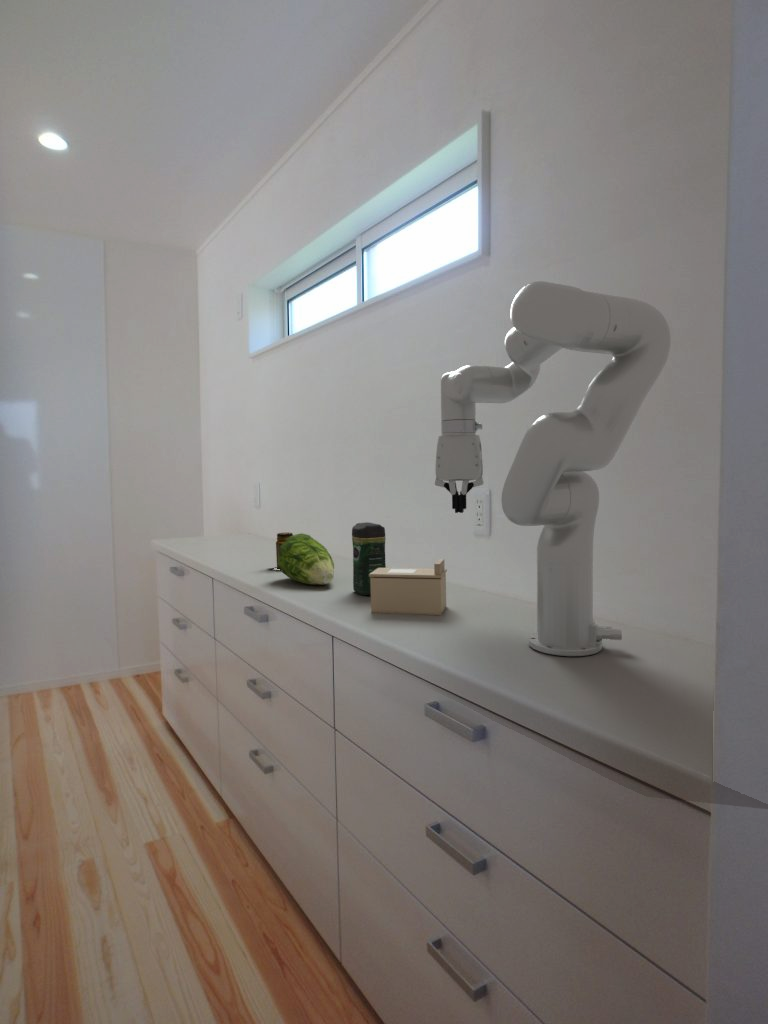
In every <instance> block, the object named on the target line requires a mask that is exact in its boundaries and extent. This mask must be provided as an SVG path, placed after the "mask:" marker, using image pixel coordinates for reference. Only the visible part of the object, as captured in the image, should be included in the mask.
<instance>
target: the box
mask: <svg viewBox="0 0 768 1024" xmlns="http://www.w3.org/2000/svg"><path fill="white" fill-rule="evenodd" d="M446 573H447V572H446ZM446 573H445V574H444V575H443V577H442V578H407V577H371V578H370V585H371V595H370V613H371V614H374V613H375V614H398V615H399V614H400V615H404V614H405V615H424V616H425V615H426V616H442V615H443V613H444V611H445V610H446V608H447V574H446Z"/></svg>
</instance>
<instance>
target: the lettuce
mask: <svg viewBox="0 0 768 1024" xmlns="http://www.w3.org/2000/svg"><path fill="white" fill-rule="evenodd" d="M278 564H279V566H280V568H281V571H280V572H282V574H284V575H285V576H286V577H287V578H289V579H290V580H293V581H295V582H298V583H302V584H305V585H309V586H316V585H328V584H330V583H331V582H332V581H333V580H334V575H335V563H334V560H333V558H332V556H331V554H330V553H329V551H328V549H327V548H326V547H325V546H324V545H323V544H322V543H320V542H319V541H318V540H316V539H314V538H313V537H312V536H310V534H306V533H303V532H302V533H297V534H293V536H291V537H289V538H288V539H286V540H285V542H284V543H283V544H282V545H281V547H280V550H279V552H278Z"/></svg>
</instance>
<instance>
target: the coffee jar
mask: <svg viewBox="0 0 768 1024" xmlns="http://www.w3.org/2000/svg"><path fill="white" fill-rule="evenodd" d="M351 540H352V541H351V542H352V558H353V559H352V567H353V568H352V569H353V570H352V573H353V574H352V576H353V577H352V578H353V579H352V585H353V591H354V592H355V593H357V594H358V595H362V596H366V595H368V596H371V585H370V578H371V577H369V574H370V573H371V572H373V571H374V570H376V569H377V568H387V567H386V566H387V565H386V529H385V526H382V525H381V524H380V523H378V524H377V523H374V522H358V523H356V524H355V525H353V526H352V529H351Z"/></svg>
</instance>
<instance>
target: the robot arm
mask: <svg viewBox="0 0 768 1024" xmlns="http://www.w3.org/2000/svg"><path fill="white" fill-rule="evenodd" d="M509 315H510V321H511V323H512V325H513V327H512V328H511V329H510V330H509V331H508V332H507V333H506V336H505V337H504V338H505V339H504V347H505V352H506V354H507V356H508V357H509V359H510V361H511V363H509V364H508V365H505V366H504V367H503V366H501V367H500V366H490V365H473V364H471V365H464V366H462V367H460V368H458V369H457V370H454V371H450V372H446V373H444V374H443V375H442V376H441V379H440V410H441V411H440V413H441V414H440V415H441V416H440V417H441V418H440V419H441V422H440V426H441V427H440V428H441V429H440V431H441V435H439V436H438V438H437V444H436V453H435V481H434V485H435V486H437V487H440V488H445V489H446V490H447V491H448V492H449V493H450V495H451V505H452V506H451V508H452V510H454V513H455V514H458V513H459V514H463V513H464V511H465V510H466V509H467V494H468V493H469V492H470V491H471V490H472V489H473V488H475V487H480V486H483V485H484V478H483V473H484V472H483V469H484V466H483V453H482V452H483V451H482V443H481V437H480V435H479V434H477V431H480V430H483V423H480V422H477V420H476V414H477V413H476V404H477V403H479V404H480V403H482V404H506V403H510V402H512V401H513V400H515V399H517V398H519V397H520V396H521V395H523V394H524V393H526V392H527V391H529V389H531V388H532V387H533V386H534V384H536V383H535V382H536V380H537V379H538V376H539V373H540V371H541V365H542V364H543V363H544V362H546V361H547V360H548V359H549V358H551V357H552V356H553V355H555V354H556V353H558V352H559V351H560V350H562V349H565V350H569V351H575V352H582V353H583V352H584V353H593V354H601V355H603V354H604V355H611V356H612V358H611V361H609V363H607V364H606V365H605V366H604V367H603V368H602V369H601V370H600V371H598V373H597V374H596V375H595V376H594V377H593V379H592V380H591V382H590V383H589V384H588V387H587V389H586V391H585V393H584V396H583V398H582V400H581V401H580V403H579V405H578V406H577V408H576V409H575V410H573V411H572V412H564V411H563V412H562V411H561V412H559V411H555V412H549V413H546V414H543V415H541V416H540V417H538V418H537V419H536V420H534V421H533V422H532V424H531V425H530V426H529V427H528V428H527V430H526V432H525V434H524V436H523V438H522V439H521V442H520V445H519V447H518V450H517V453H516V454H515V457H514V460H513V462H512V464H511V465H510V467H509V468H510V469H509V471H508V473H507V475H506V479H505V480H504V481H505V482H504V484H503V487H502V491H501V497H500V498H501V499H500V500H501V508H502V511H503V512H502V513H503V514H504V516H505V517H506V518H507V519H508V521H510V522H511V523H513V524H515V525H517V526H522V527H537V526H543V528H542V529H541V531H540V535H539V538H538V540H537V545H536V546H537V547H536V632H534V633H532V634H530V635H529V637H528V638H527V640H528V646H530V648H532V649H533V650H535V651H537V652H540V653H543V654H547V655H552V656H561V657H584V656H586V657H587V656H591V655H594V654H597V653H600V652H601V650H603V640H610V641H622V638H623V637H622V635H623V633H622V629H621V628H613V627H612V626H610V625H609V626H605V625H604V626H600V625H599V626H598V624H596V622H595V620H594V609H593V608H594V607H593V606H594V605H593V603H594V597H593V596H594V591H593V590H594V588H593V587H594V585H593V581H594V578H593V577H594V576H593V575H594V571H593V570H594V537H595V534H594V533H595V525H596V521H597V516H598V510H599V504H600V491H599V487H598V485H597V483H596V480H595V479H594V478H593V477H592V476H591V475H590V474H589V473H587V472H591V471H598V470H602V469H604V468H606V467H607V466H608V465H609V464H610V463H611V461H613V459H614V458H615V456H616V454H617V452H618V451H619V449H620V446H621V445H622V442H623V441H624V439H625V437H626V435H627V433H628V431H629V430H630V428H631V425H632V424H633V422H634V420H635V418H636V416H637V414H638V412H639V411H640V410H639V409H640V408H641V406H642V404H643V402H644V401H645V399H646V398H647V396H648V394H649V392H650V391H651V389H652V388H653V386H654V385H655V383H656V381H657V380H658V378H659V376H660V375H661V374H662V372H663V369H664V367H666V366H665V365H666V364H667V360H668V357H669V355H670V350H671V344H672V343H671V338H672V337H671V331H670V326H669V324H668V322H667V320H666V317H665V315H664V314H662V311H660V310H659V309H658V308H656V307H655V306H653V305H652V304H650V303H647V302H645V301H642V300H639V299H635V298H629V297H623V296H619V295H618V296H617V295H611V294H604V293H599V292H593V291H592V292H591V291H587V290H583V289H581V288H578V287H576V286H571V285H569V284H568V285H567V284H561V283H556V282H555V283H554V282H548V281H542V280H538V281H533V282H530V283H528V284H526V285H525V286H523V287H522V288H521V289H520V290H519V291H518V292H517V293H516V294H515V297H514V298H513V301H512V303H511V306H510V313H509ZM456 481H457V482H458V481H459V482H460V481H462V483H461V490H460V491H458V488H457V482H456ZM470 481H471V482H470Z"/></svg>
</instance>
